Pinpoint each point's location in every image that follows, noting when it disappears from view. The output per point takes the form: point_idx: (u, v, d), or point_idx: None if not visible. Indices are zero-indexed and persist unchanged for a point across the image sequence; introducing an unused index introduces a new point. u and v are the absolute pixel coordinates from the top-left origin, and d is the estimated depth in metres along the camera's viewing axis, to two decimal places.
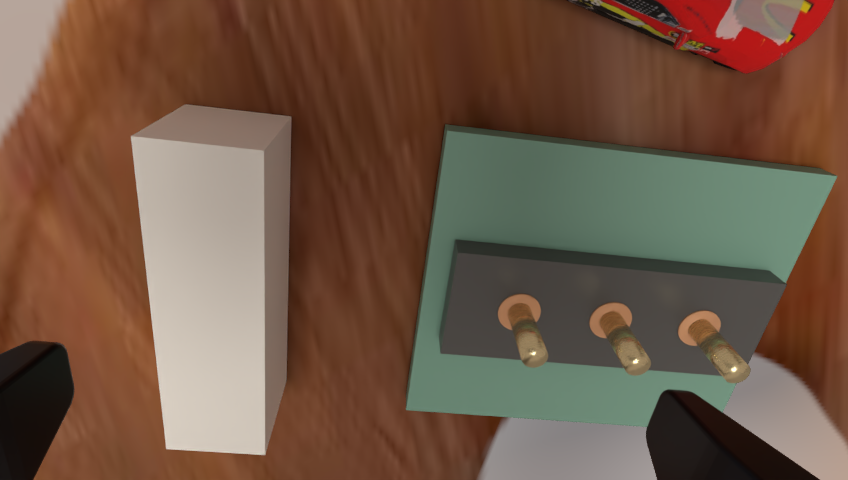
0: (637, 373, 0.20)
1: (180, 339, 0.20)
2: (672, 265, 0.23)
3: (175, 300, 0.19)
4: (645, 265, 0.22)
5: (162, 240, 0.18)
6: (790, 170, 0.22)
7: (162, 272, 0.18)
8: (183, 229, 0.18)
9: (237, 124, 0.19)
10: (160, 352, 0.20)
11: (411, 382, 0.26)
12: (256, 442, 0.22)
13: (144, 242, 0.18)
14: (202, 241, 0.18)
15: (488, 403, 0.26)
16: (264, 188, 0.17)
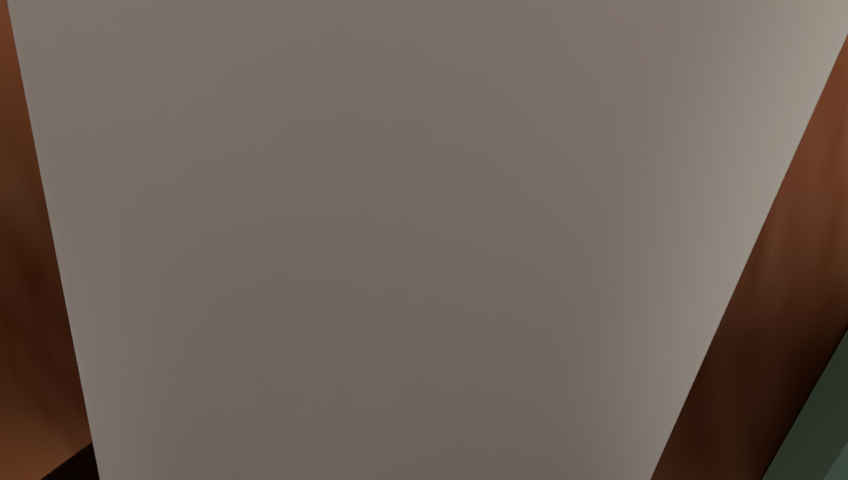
0: None
1: None
2: None
3: None
4: None
5: (184, 385, 0.03)
6: None
7: None
8: (298, 332, 0.03)
9: None
10: None
11: None
12: None
13: (91, 395, 0.03)
14: (389, 388, 0.04)
15: None
16: (804, 101, 0.03)
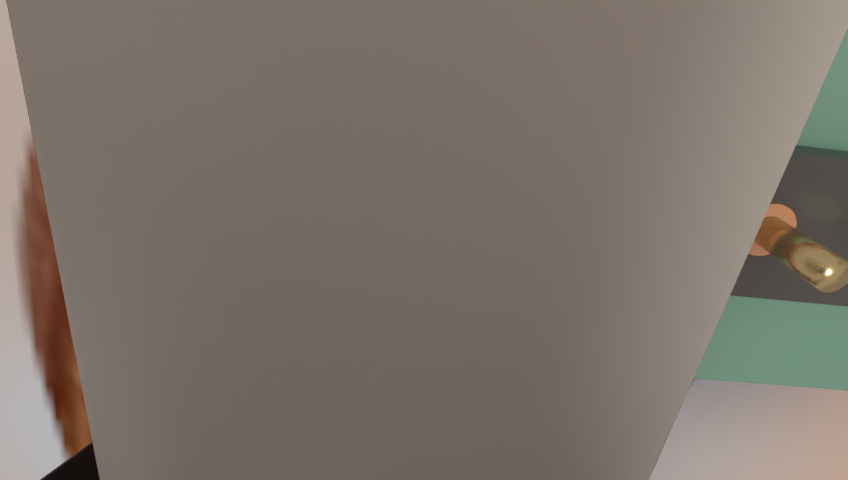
0: None
1: None
2: None
3: None
4: None
5: (183, 381, 0.03)
6: None
7: None
8: (297, 328, 0.03)
9: None
10: None
11: None
12: None
13: (90, 391, 0.03)
14: (389, 384, 0.04)
15: None
16: (804, 96, 0.03)
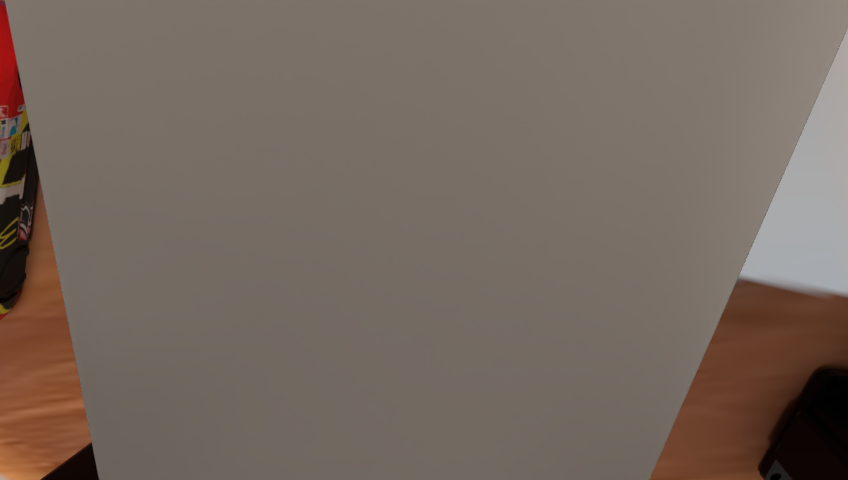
0: None
1: None
2: None
3: None
4: None
5: (183, 380, 0.03)
6: None
7: None
8: (297, 327, 0.03)
9: None
10: None
11: None
12: None
13: (89, 390, 0.03)
14: (389, 382, 0.04)
15: None
16: (805, 93, 0.03)
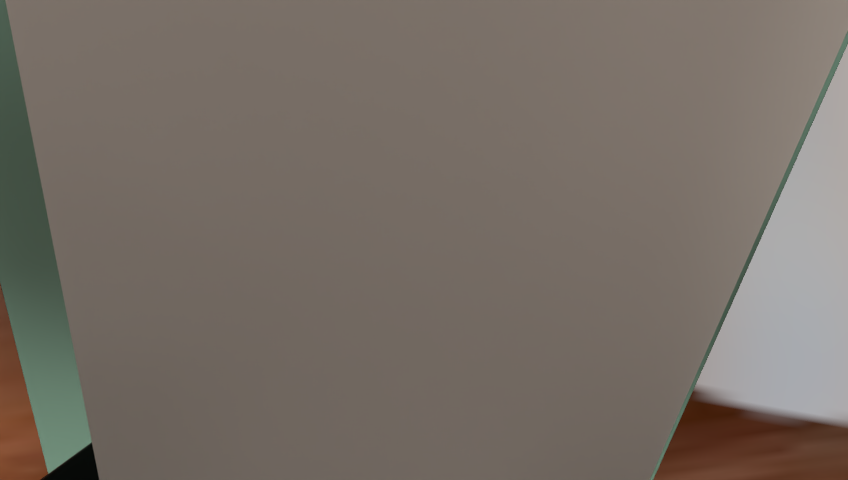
0: None
1: None
2: None
3: None
4: None
5: (183, 379, 0.03)
6: None
7: None
8: (297, 325, 0.03)
9: None
10: None
11: None
12: None
13: (89, 389, 0.03)
14: (389, 381, 0.04)
15: None
16: (808, 91, 0.03)
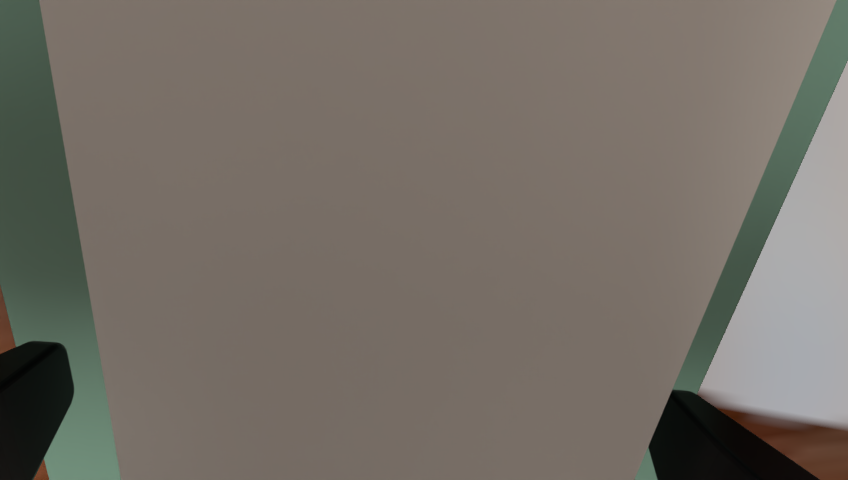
0: None
1: None
2: None
3: None
4: None
5: (199, 361, 0.04)
6: None
7: None
8: (307, 310, 0.03)
9: None
10: None
11: None
12: None
13: (110, 371, 0.04)
14: (395, 364, 0.04)
15: None
16: (787, 88, 0.03)
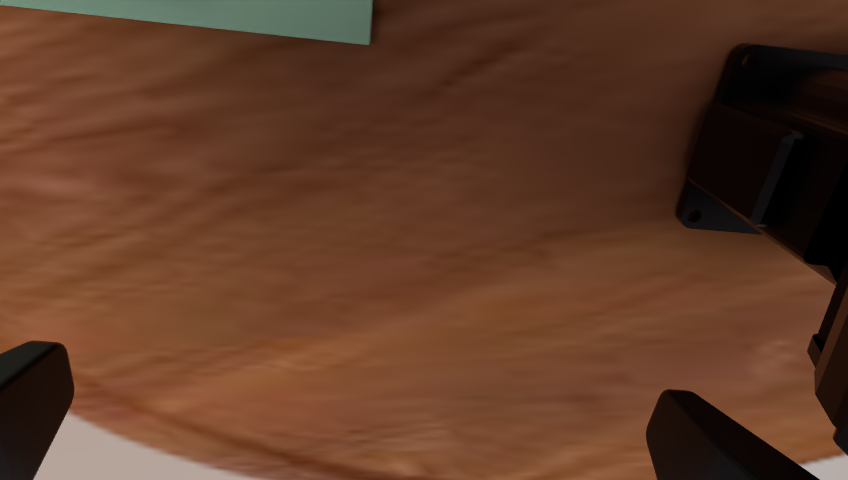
0: None
1: None
2: None
3: None
4: None
5: None
6: None
7: None
8: None
9: None
10: None
11: (311, 36, 0.16)
12: None
13: None
14: None
15: None
16: None
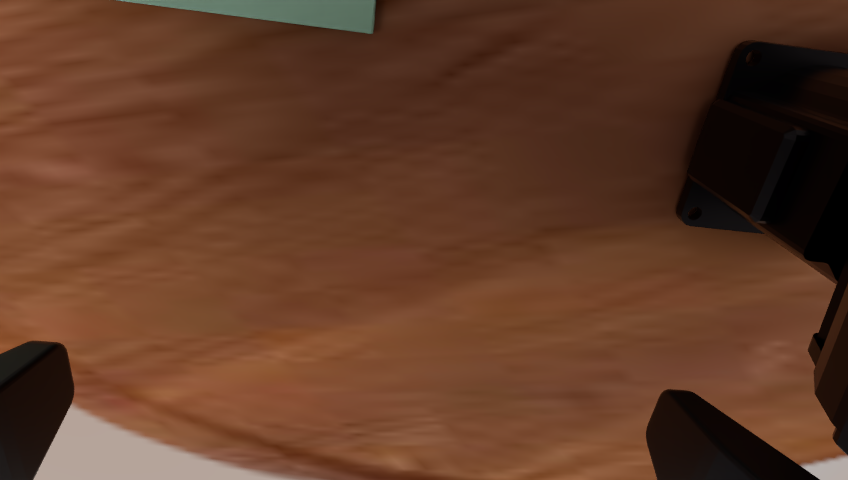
0: None
1: None
2: None
3: None
4: None
5: None
6: None
7: None
8: None
9: None
10: None
11: (314, 23, 0.16)
12: None
13: None
14: None
15: None
16: None
